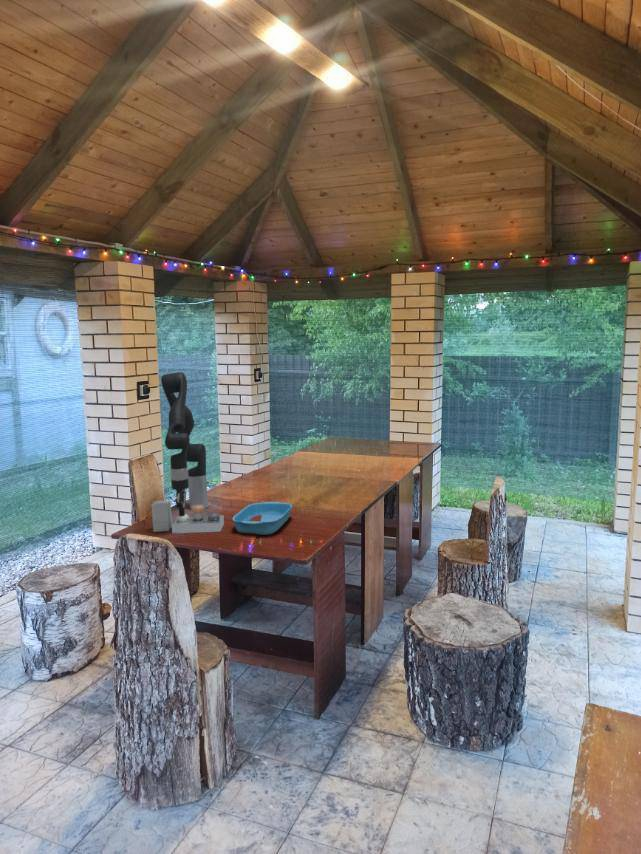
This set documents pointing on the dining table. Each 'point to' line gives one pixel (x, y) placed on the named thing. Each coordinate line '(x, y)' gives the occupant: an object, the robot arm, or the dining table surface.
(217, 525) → the mount
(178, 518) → the grey oval piece
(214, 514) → the knob
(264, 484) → the dining table surface
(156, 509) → the supplement box
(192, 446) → the robot arm
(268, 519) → the casserole dish
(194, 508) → the tan egg
